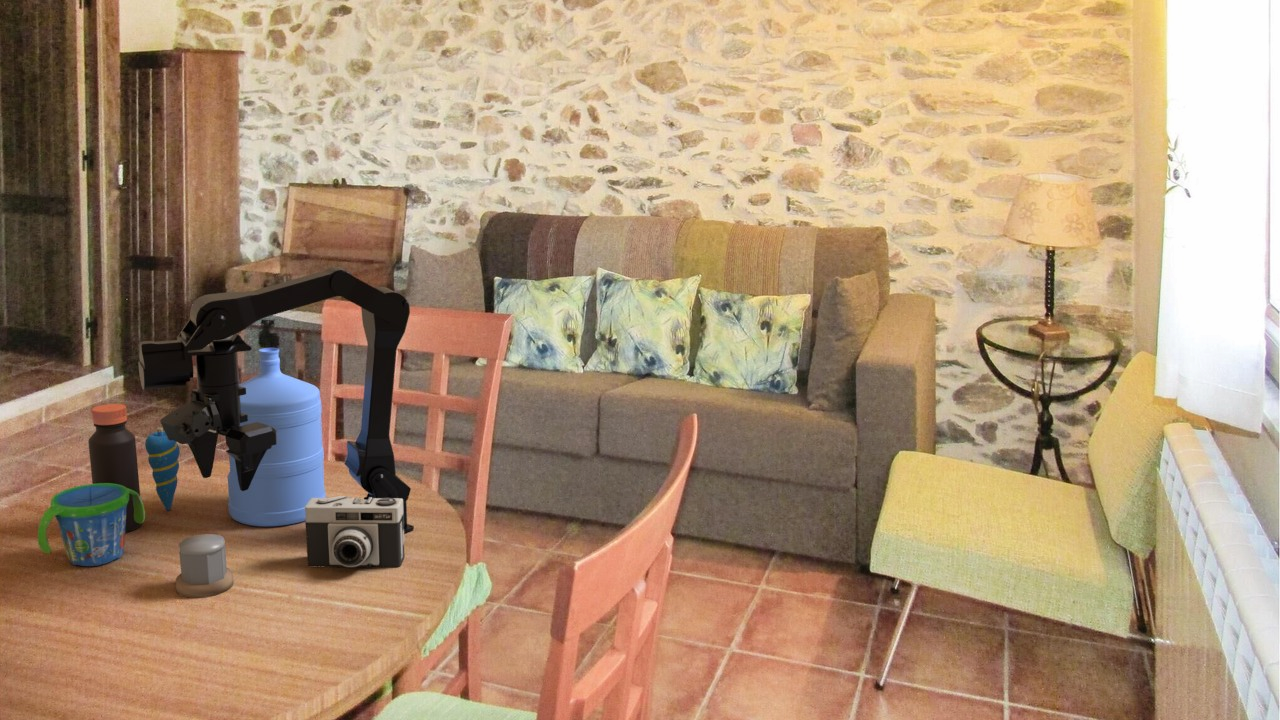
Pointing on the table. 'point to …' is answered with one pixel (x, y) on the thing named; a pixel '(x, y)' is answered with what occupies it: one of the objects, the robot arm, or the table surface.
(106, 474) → the bottle
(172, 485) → the ornament
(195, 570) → the cap
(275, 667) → the table surface
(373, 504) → the camera
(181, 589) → the stub
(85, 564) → the snack cup
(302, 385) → the water jug
